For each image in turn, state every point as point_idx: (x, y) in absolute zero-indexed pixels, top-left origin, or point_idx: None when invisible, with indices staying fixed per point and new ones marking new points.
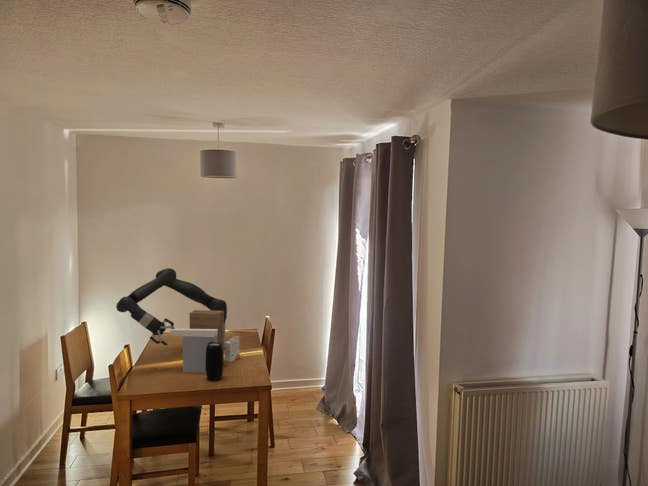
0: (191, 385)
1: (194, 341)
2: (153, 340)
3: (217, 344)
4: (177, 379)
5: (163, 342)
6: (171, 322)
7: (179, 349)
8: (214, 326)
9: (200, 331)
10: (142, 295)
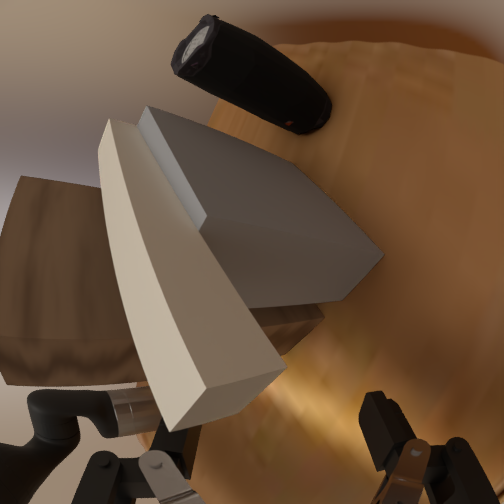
0: (396, 74)
1: (209, 162)
2: (489, 488)
3: (187, 50)
4: (437, 166)
5: (399, 422)
6: (89, 484)
7: (258, 500)
8: (83, 201)
9: (122, 147)
10: None
